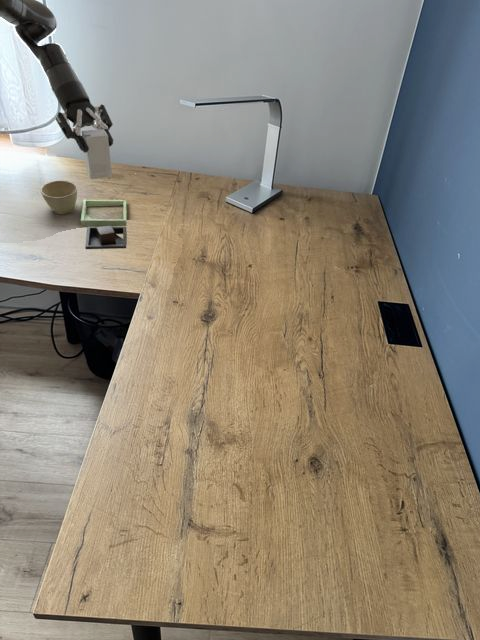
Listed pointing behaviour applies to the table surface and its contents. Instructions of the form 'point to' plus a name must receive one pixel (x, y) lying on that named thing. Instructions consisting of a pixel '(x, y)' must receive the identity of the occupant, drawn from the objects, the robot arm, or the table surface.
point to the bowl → (60, 196)
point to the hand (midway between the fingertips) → (99, 148)
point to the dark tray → (94, 244)
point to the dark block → (106, 235)
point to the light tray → (90, 222)
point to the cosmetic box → (97, 154)
